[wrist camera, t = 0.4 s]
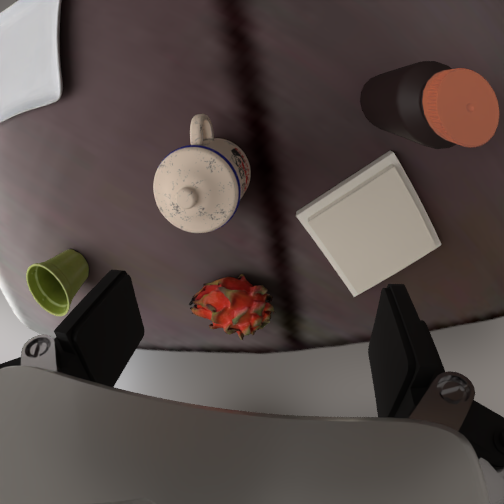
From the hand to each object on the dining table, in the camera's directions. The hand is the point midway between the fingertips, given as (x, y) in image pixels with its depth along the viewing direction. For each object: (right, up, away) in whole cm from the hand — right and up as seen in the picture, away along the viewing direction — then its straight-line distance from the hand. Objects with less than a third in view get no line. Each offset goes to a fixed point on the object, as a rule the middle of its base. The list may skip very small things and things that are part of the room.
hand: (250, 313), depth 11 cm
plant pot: (-30, 0, +38) cm, 48 cm away
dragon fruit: (-2, -3, +35) cm, 35 cm away
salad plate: (-36, +34, +22) cm, 54 cm away
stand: (+15, +5, +27) cm, 32 cm away
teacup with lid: (-4, +13, +27) cm, 30 cm away
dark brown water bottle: (+16, +19, +20) cm, 32 cm away
